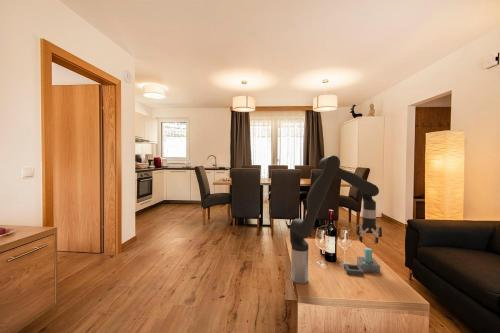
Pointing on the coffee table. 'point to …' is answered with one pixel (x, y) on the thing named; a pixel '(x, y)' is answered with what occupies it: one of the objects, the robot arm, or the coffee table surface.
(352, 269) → the dark grey shallow dish
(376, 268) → the port block
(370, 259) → the plug
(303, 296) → the coffee table surface
